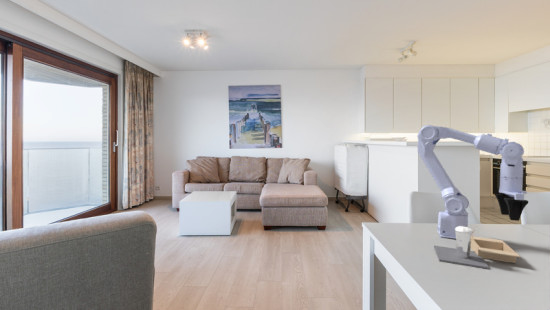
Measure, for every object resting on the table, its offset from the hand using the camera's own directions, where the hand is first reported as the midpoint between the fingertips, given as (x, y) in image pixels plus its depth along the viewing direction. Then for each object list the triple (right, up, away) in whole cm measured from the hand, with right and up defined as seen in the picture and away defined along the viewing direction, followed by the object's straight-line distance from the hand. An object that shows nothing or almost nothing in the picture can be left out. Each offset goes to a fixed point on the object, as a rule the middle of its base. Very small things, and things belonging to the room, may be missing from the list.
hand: (509, 217), depth 90 cm
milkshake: (-22, -10, -9) cm, 26 cm away
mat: (-23, -11, -8) cm, 26 cm away
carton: (-11, -11, -6) cm, 16 cm away
